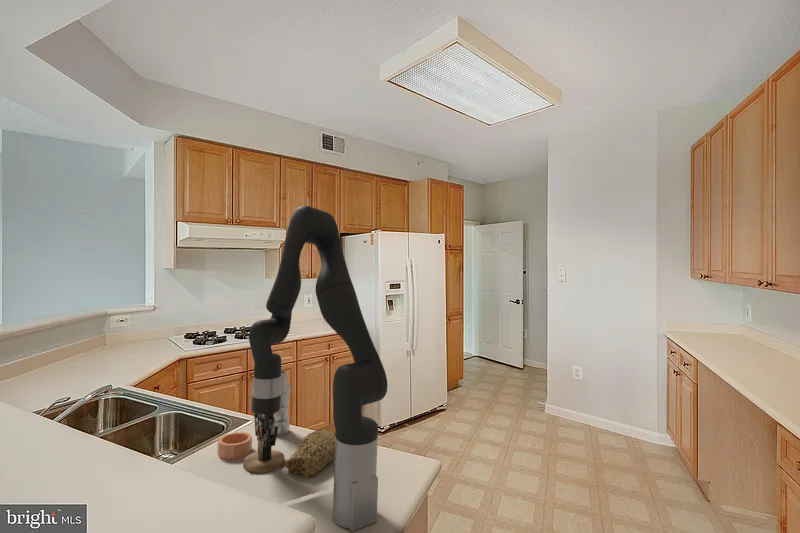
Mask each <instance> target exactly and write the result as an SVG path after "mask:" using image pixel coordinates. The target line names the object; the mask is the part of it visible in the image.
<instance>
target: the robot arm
mask: <svg viewBox="0 0 800 533" xmlns="http://www.w3.org/2000/svg"><path fill="white" fill-rule="evenodd" d="M306 243H307V244H311V245H314V246H315V247H316V249H317V252H318V254H319V255H318V256H319V258H320V264H321V265H320V270H319V272H318V276H317V279H316V283H315V296H316V299H317V302H318V307H319V310H320V313H321V316H322V318H323V319H324V321H325V322H326V323H327V325H328V326H329V327H330V328H331V329H332V330H333V331H334V332H335V333H336V334H337V335H338V336H339V337H340V338H341V340H343V342H345V344H346V346H347V348H348V349H349V350H350V353H351V356H352V357H353V362H351V363H345V364H343V365H340V366H339V367H338V368H336V370H335V373H334V376H333V380H332V381H333V382H332V404H333V406H332V413H333V414H332V416H333V417H332V419H333V424H334V430H335V434H336V437H335V458H334V466H333V467H334V468H333V489H332V490H333V494H332V495H333V496H332V497H333V498H332V503H333V504H332V520H333V522H334V524H336V525H337V526H339V527H341V528H345V529H349V531H350V532H355V531H358V530H359V529H362V528H365V527H366V526H367V527H368V526H369V525H372V524H374V523H376V522H378V498H379V495H378V493H379V477H378V476H377V472H378V471H377V469H378V468H377V466H378V464H377V463H378V442H379V441H378V440H379V438H378V437H379V426H378V423H377V421H375V420H374V419H373V418H370V417H368V416H364V415H362V406H365V405H369V404H373V403H376V402H379V401H381V400H383V399H384V398H385V397H386V395H387V392H388V378H387V373H386V370H385V367H384V366H383V362H382V361H381V358H380V356H379V353H378V350H377V349H376V346H375V345H374V344H375V343H373V339H372V337H371V336H370V333H369V329H368V327H367V324H366V322H365V321H366V320H365V318H364V316H363V313H362V310H361V306H360V304H359V299H358V295H357V293H356V290H355V286H354V284H353V282H352V279H351V277H350V272H349V269H348V265H347V263H346V259H345V255H344V251H343V247H342V242H341V236H340V233H339V229H338V224H337V221H336V218H335V217H334V216H333V215H332V214H331V213H329V212H328V211H326V210H322V209H319V208H315V207H313V206H310V205H301V206H298V207H296V209H295V210H294V211H293V213H292V215H291V217H290V220H289V223H288V227H287V231H286V235H285V239H284V245H283V249H282V253H281V257H280V263H279V266H278V270H277V274H276V277H275V280H274V283H273V285H272V288H271V290H270V293H269V295H268V298H267V301H266V304H265V307H266V308H265V309H266V310H267V311H268V312H269V313H271V317H270V318H267V319H261V320H256V321H254V323H252V325H251V326H250V329H249V332H248V341H249V345H250V350H251V355H252V358H253V380H252V386H251V407H250V408H251V412H252V414H254V415H253V417H254V418H253V419H254V430H255V431H254V432H255V435H254V436H255V437H256V440H257V451H258V453H259V440H260V439H261V438H262V446H263V447H262V460H263V461H267V460H270V459H271V450H272V447H275V445H276V442H277V438H278V436H277V432H278V427H277V426H276V427H274V425H275V418H274V414H275V413H276V412H278V411H279V410H280V408H281V371H282V357H281V355H280V354H278V353H276V352H275V353H274V352H273V349H272V346H273V345H277V344H281V343H282V342H283V341H285V339H286V338H287V337H288V334H289V333H290V330H291V322H292V318H293V317H292V313H293V309H294V307H295V305H296V302H297V300H298V298H299V294H300V292H301V288H302V276H301V275H302V274H301V268H300V267H301V266H300V258H301V253H302V251H303V248H304V246H305V244H306Z"/></svg>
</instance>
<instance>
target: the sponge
mask: <svg viewBox="0 0 800 533" xmlns="http://www.w3.org/2000/svg"><path fill="white" fill-rule="evenodd" d="M335 437H336V432H332V431H331V430H326V429H325V430H315V431H312V432H309V433H308V434H307V435H306V436H305V437H304V438H303V439H302V440H301V442H300V443H299V444H298V446H297V448H296V450H295V451H294V452H293V453H292V454H290V456H289V458H288V459H285V460H284V464H285V466H284V467H285V468H286V469H288V472H289V473H293V474H295V475H301V476H302V477H303V478H304V479H310V478H311V477H314V476H315V475H317V474H318V473H320V471H322V470H323V469H324V468H325V466H326V465H328V464H330V463H331V462H332V461H333V460H335Z"/></svg>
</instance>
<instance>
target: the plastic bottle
mask: <svg viewBox="0 0 800 533" xmlns="http://www.w3.org/2000/svg"><path fill="white" fill-rule="evenodd" d="M287 378H288V373H287V371H286V370H281V408H280V410H279V411H278V412H276V413H275V414H274V418H275V425H274V427H276V426H277V427H278V432H277V437H279V436H285V435H286V434H287V435H288V432H289V431H290V419H289V404H290V401H289V400H290V395H291V385H290V383H289V382H288V380H287Z"/></svg>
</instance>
